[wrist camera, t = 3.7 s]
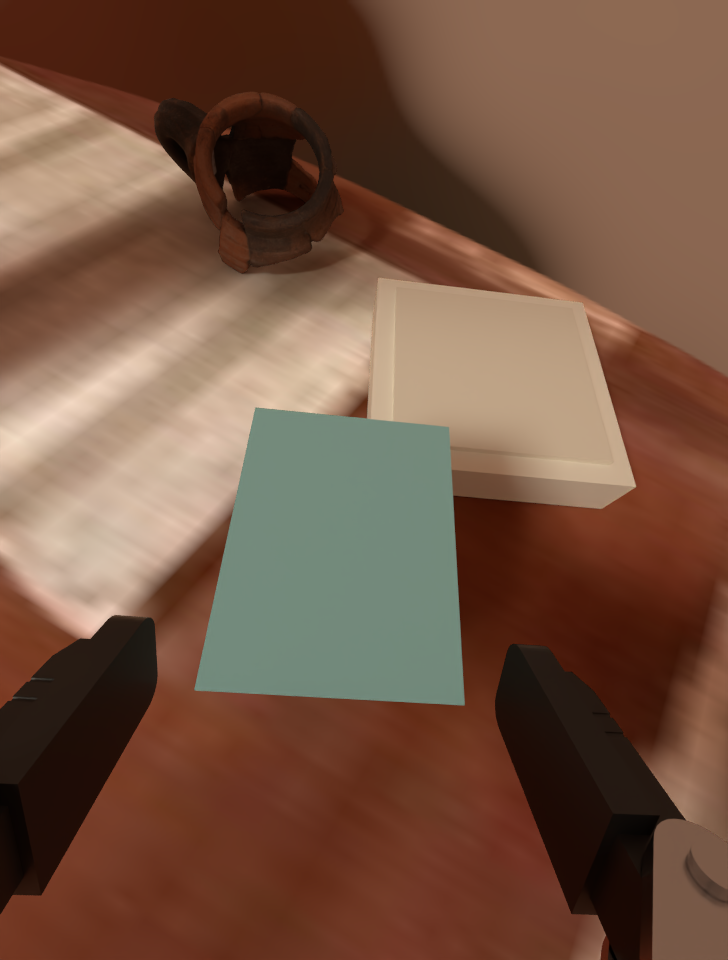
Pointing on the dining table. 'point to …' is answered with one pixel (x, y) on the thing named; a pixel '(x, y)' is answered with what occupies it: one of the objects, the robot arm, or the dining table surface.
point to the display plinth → (500, 391)
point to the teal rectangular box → (339, 565)
